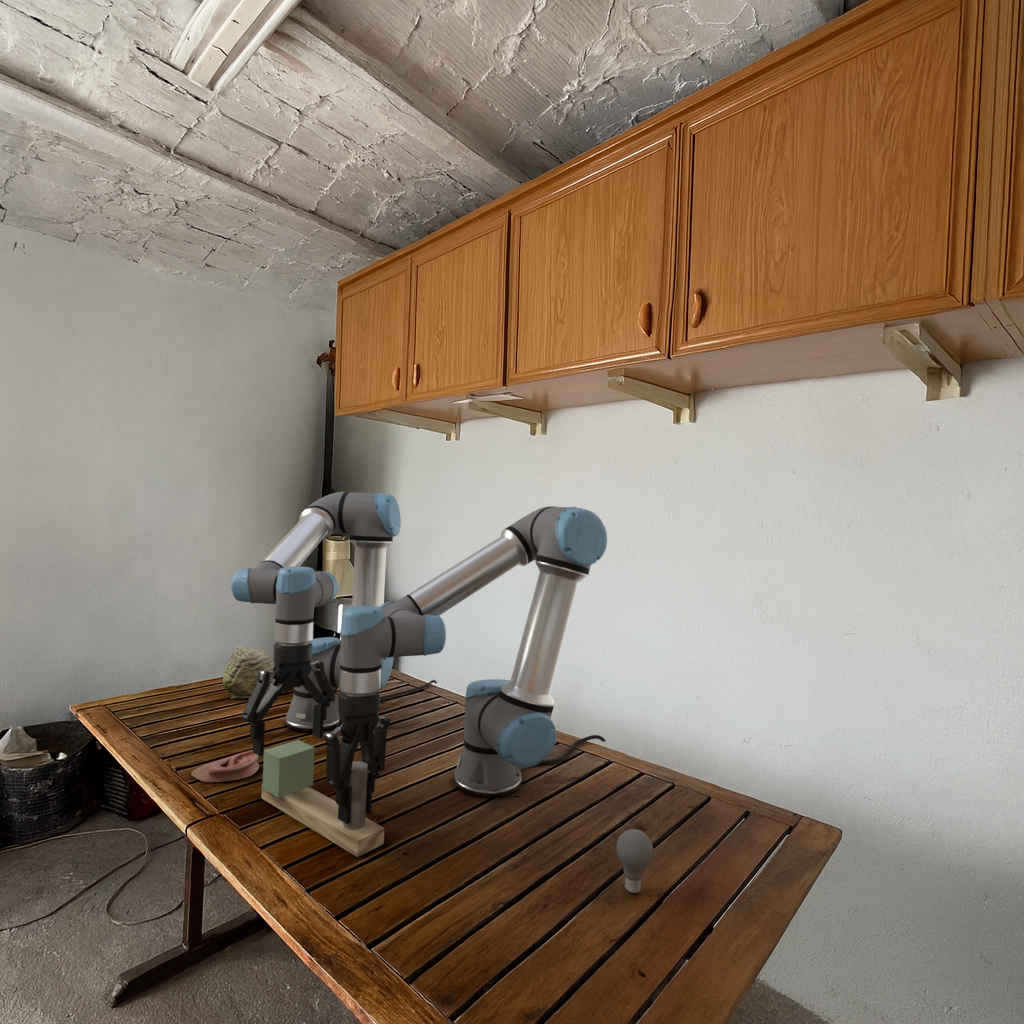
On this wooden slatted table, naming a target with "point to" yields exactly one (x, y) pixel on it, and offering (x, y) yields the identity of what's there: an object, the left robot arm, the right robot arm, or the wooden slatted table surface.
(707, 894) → the wooden slatted table surface
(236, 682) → the fossil
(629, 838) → the light bulb
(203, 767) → the anatomical model
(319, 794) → the birch board
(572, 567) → the right robot arm
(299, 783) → the green block
